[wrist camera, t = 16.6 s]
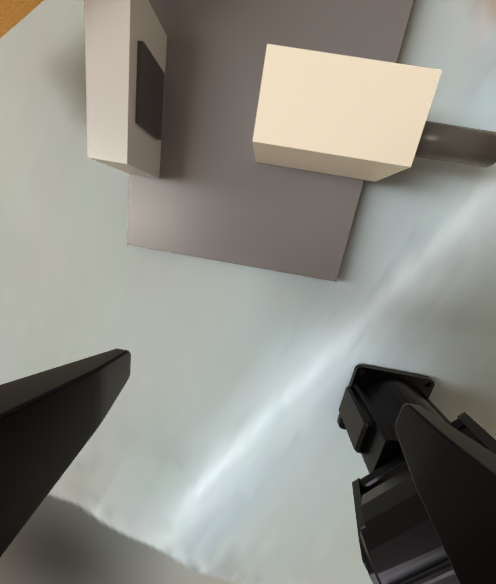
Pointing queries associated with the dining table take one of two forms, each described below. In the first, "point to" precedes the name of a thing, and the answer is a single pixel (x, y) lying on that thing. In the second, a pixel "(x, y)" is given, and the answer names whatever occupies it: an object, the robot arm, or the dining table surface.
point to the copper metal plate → (14, 12)
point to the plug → (355, 116)
